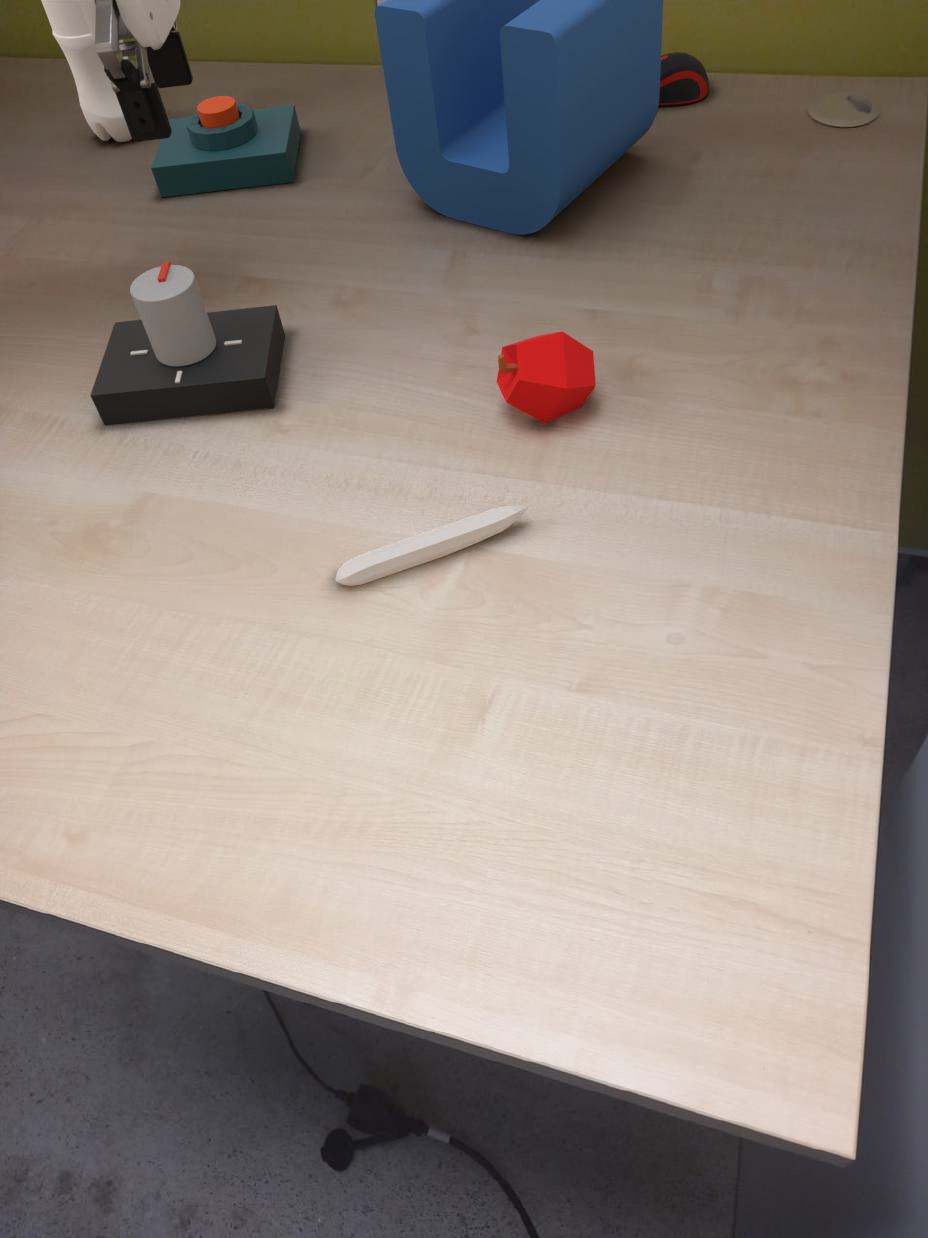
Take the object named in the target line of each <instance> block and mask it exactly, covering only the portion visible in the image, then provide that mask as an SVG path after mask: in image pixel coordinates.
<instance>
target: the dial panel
mask: <svg viewBox="0 0 928 1238" xmlns="http://www.w3.org/2000/svg"><path fill="white" fill-rule="evenodd" d="M207 314H208V317H209V320H210V323H211V326H212V329H213V332H214V335H215V338H216V346H215V348H214V350H213V351H212V353H211V354H210V355H208V356H207V357H206V358H204V359H203V360H201V361H199V362H196V363H194V364H190V365H186V366H178V367H177V366H168V365H165V364H163V363H161V362H160V361H159V360H158V359H157V358H156V355H155V353H154V350H153V348H152V345H151V343H150V340H149V338H148V335H147V333H146V330H145V328H144V325H143V323H142V320H141V319H133V320H124V321H115V322H114V324H113V327H112V330H111V333H110V335H109V339H108V342H107V345H106V348H105V350H104V354H103V356H102V359H101V362H100V366H99V368H98V371H97V374H96V377H95V380H94V383H93V386H92V388H91V392H90V398H91V400H92V403H93V405H94V406H95V408H96V412H97V413H98V416H99V417H100V419H101V421H102V423H103V425H104V426H109V425H120V424H129V423H139V422H149V421H158V420H159V421H160V420H169V419H179V418H189V417H198V416H207V415H209V416H210V415H219V414H227V413H238V412H239V413H240V412H248V411H258V410H269V409H274V408H275V406H276V405H275V404H276V399H277V398H276V396H277V390H278V384H279V377H280V371H281V365H282V357H283V351H284V344H285V338H286V333H285V330H284V326H283V323H282V318H281V315H280V312H279V309H278V305H277V304H272V305H264V306H255V307H254V306H253V307H245V308H235V309H226V310H217V311H216V310H215V311H208V312H207Z"/></svg>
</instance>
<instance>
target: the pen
mask: <svg viewBox="0 0 928 1238" xmlns="http://www.w3.org/2000/svg"><path fill="white" fill-rule="evenodd" d="M528 509H529V506H526V505H505V506H498V507H494V508H491V509H488V510H485V511H482V512H479V513H476V514H472V515H471V516H467V517H464V518H461V519H459V520H455V521H452V522H449V523H446V524H443V525H440V526H437V527H434V528H431V529H429V530H426V531H422V532H420V533H416V534H414V535H411V536H408V537H406V538H403V539H400V540H397V541H394V542H391V543H388V544H385V545H383V546H380V547H376V548H374V549H371V550H368V551H366V552H363V553H360V554H358V555H356V556H354V557H352V558H349V559H348V560H347V561H345V562H344V563H343V564H341V566H340V567H339V568H338V570H337V572H336V575H335V579H334V581H335V582H336V583H338V584H340V585H343V586H348V587H349V586H351V587H353V586H360V585H365V584H368V583H370V582H373V581H376V580H379V579H382V578H385V577H389V576H391V575H395V574H397V573H399V572H403V571H405V570H409V569H411V568H415V567H416V566H417V567H418V566H421V565H423V564H426V563H429V562H432V561H435V560H438V559H441V558H443V557H446V556H448V555H451V554H454V553H455V552H456V553H457V552H458V551H461V550H463V549H465V548H468V547H470V546H473V545H475V544H477V543H480V542H482V541H484V540H486V539H488V538H490V537H493V536H495V535H498V534H499V533H502V532H503V531H505V530H506V529H508V528H509V527H511V525H513V524H514V523H516V521H518V520H519V518H521V517H522V516H524V514H525V513H526V511H527V510H528Z"/></svg>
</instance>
